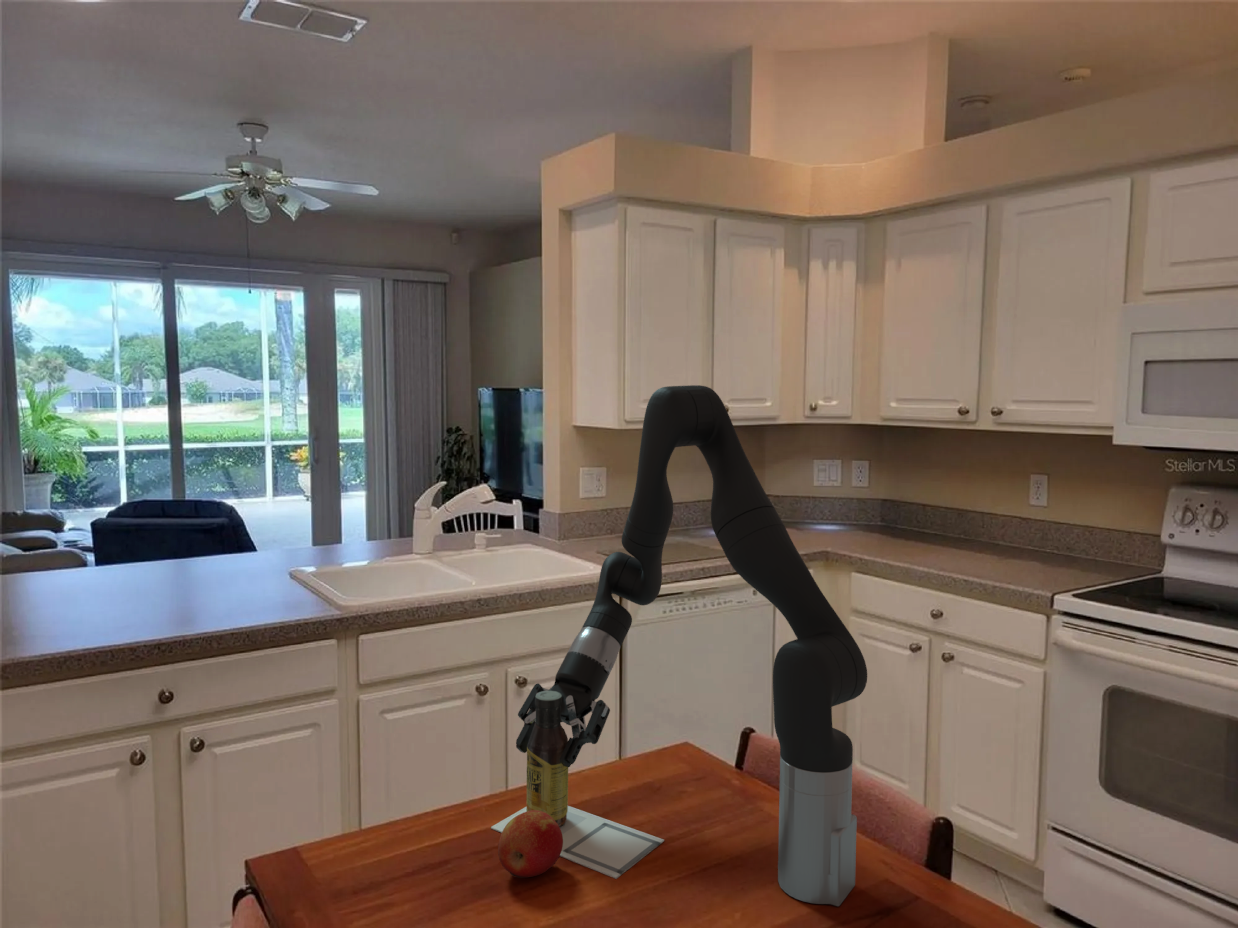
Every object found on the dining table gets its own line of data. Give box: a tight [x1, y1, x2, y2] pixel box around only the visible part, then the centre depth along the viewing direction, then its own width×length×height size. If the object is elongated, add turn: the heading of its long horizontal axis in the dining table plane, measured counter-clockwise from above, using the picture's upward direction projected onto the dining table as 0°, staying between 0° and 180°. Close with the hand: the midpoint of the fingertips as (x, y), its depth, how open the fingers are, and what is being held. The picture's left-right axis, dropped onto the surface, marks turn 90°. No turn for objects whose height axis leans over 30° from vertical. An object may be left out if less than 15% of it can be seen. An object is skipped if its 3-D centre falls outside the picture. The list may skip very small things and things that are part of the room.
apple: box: [497, 810, 563, 879], centre depth 113 cm, size 8×8×8 cm
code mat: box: [490, 805, 665, 880], centre depth 124 cm, size 23×12×1 cm, turn 55°
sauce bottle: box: [526, 691, 569, 827], centre depth 126 cm, size 6×6×20 cm
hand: (541, 757), depth 125 cm, fingers open, 8 cm apart
